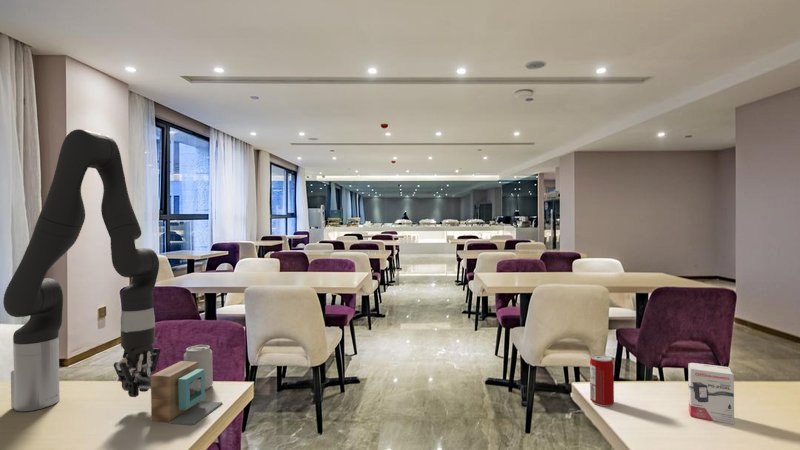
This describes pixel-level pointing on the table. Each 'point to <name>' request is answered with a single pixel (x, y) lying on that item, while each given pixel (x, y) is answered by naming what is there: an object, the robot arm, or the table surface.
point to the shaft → (146, 383)
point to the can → (201, 361)
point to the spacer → (184, 389)
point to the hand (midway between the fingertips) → (138, 393)
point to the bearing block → (169, 391)
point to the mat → (196, 413)
